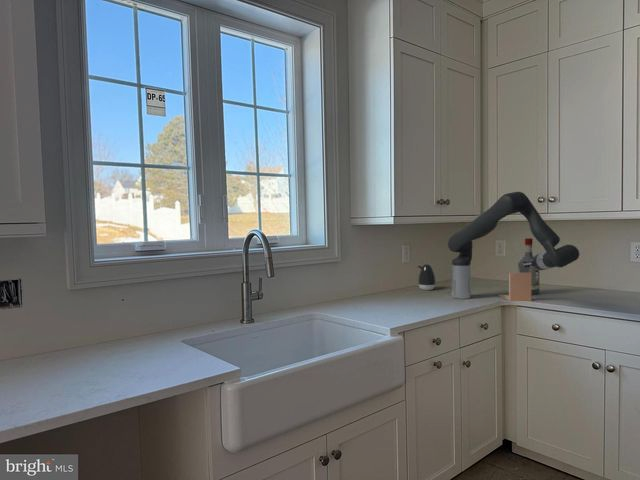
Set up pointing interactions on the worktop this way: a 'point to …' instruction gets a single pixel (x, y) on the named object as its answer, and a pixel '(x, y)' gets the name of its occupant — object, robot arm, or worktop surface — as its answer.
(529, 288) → the tile
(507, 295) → the mat
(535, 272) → the liquor
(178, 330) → the worktop surface
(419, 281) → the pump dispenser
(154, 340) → the worktop surface
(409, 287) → the worktop surface
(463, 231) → the robot arm
